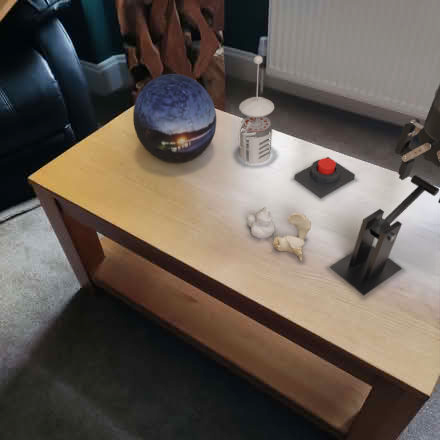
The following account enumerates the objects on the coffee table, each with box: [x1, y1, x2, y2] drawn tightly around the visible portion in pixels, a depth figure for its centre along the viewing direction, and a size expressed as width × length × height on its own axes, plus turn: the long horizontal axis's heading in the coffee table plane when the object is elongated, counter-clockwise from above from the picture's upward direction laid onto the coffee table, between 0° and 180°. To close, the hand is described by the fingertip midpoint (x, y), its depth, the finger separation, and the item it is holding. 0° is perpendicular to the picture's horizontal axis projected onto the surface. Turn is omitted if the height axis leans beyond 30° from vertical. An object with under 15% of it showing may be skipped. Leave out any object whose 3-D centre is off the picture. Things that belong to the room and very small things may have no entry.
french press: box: [237, 55, 275, 165], centre depth 100 cm, size 10×12×25 cm
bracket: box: [329, 208, 403, 297], centre depth 81 cm, size 11×9×14 cm
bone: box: [272, 212, 312, 262], centre depth 88 cm, size 9×6×10 cm
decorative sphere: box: [132, 73, 217, 164], centre depth 104 cm, size 20×20×20 cm
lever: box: [369, 174, 440, 240], centre depth 77 cm, size 13×5×2 cm, turn 127°
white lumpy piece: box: [246, 206, 276, 239], centre depth 91 cm, size 5×7×8 cm
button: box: [317, 157, 336, 175], centre depth 100 cm, size 4×4×2 cm
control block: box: [293, 156, 356, 200], centre depth 102 cm, size 11×9×4 cm
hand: (422, 189), depth 77 cm, fingers open, 8 cm apart
